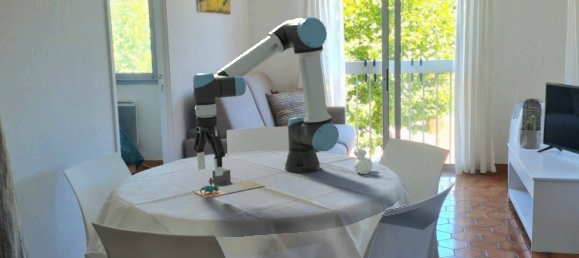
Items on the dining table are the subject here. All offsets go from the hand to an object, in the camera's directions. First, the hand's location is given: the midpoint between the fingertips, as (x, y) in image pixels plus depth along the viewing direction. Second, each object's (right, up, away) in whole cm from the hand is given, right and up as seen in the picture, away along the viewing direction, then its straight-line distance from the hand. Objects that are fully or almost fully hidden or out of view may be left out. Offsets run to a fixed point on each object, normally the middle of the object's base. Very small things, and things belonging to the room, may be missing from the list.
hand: (210, 172), depth 210 cm
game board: (+7, -7, +6) cm, 11 cm away
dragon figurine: (-1, -8, +1) cm, 8 cm away
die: (+2, -5, +17) cm, 18 cm away
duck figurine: (+60, -2, +28) cm, 67 cm away
